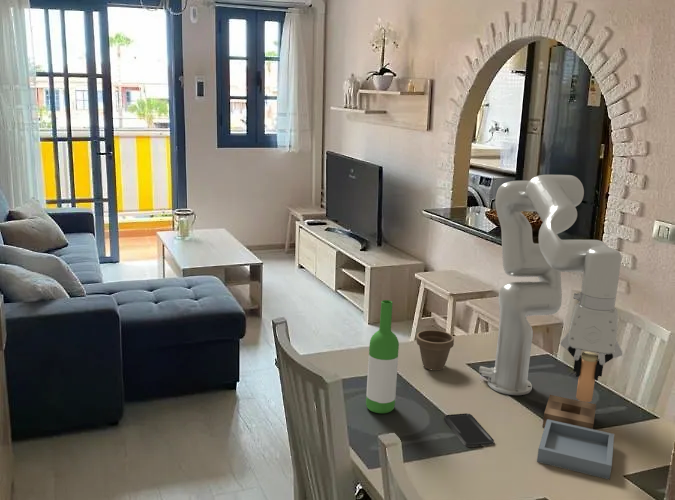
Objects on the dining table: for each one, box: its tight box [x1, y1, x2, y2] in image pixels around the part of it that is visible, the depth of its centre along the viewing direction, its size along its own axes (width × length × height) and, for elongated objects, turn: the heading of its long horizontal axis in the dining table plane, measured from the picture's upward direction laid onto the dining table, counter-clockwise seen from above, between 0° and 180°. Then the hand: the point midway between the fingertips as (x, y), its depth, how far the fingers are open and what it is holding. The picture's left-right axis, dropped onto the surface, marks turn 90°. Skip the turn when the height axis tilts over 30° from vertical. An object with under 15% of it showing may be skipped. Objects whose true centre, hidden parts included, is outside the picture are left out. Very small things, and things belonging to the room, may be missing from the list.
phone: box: [443, 413, 495, 448], centre depth 174 cm, size 8×1×15 cm
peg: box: [575, 351, 599, 403], centre depth 160 cm, size 4×4×11 cm
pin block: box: [542, 394, 597, 429], centre depth 181 cm, size 12×12×4 cm
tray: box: [536, 419, 615, 480], centre depth 165 cm, size 16×16×4 cm
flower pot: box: [415, 329, 455, 371], centre depth 212 cm, size 12×11×10 cm
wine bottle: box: [365, 299, 400, 414], centre depth 181 cm, size 8×8×30 cm
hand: (587, 375), depth 160 cm, fingers closed on peg, 3 cm apart
